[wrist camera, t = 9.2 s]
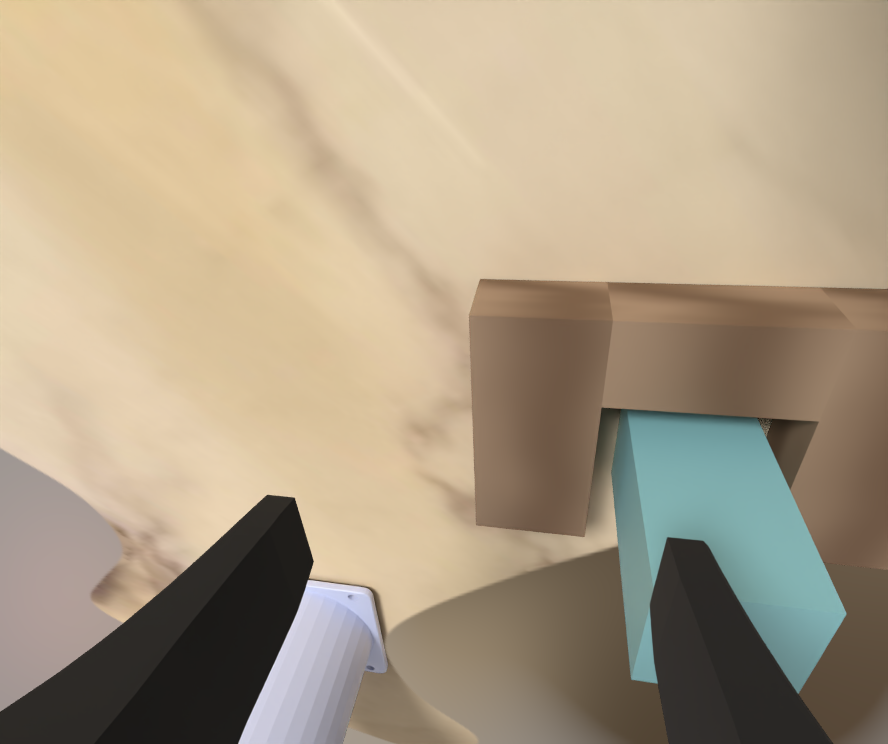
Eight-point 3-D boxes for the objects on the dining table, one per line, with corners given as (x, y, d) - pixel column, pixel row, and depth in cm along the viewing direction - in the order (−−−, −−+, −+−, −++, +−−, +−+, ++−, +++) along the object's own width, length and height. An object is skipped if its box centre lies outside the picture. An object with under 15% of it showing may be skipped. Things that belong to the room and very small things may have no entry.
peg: (611, 472, 21) (630, 679, 15) (623, 389, 19) (653, 590, 13) (720, 481, 21) (792, 703, 14) (747, 396, 18) (846, 613, 12)
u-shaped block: (484, 478, 23) (476, 525, 21) (480, 279, 18) (468, 315, 16) (860, 513, 20) (892, 570, 18) (979, 291, 15) (1043, 336, 13)
